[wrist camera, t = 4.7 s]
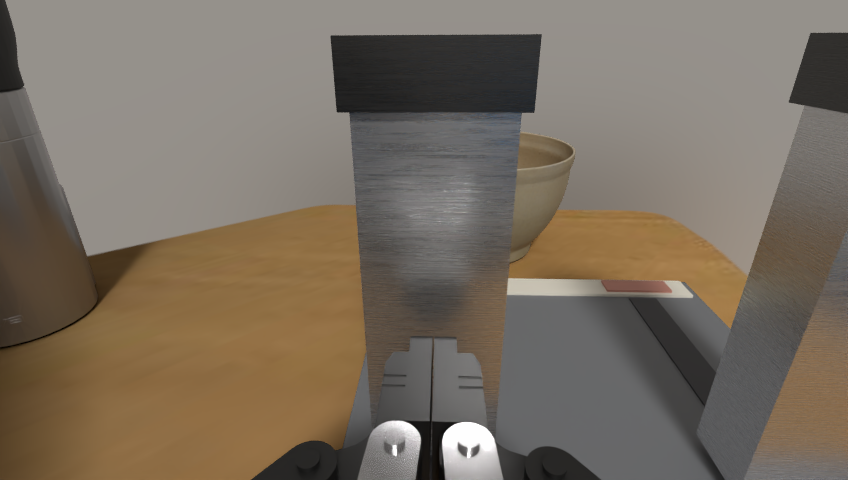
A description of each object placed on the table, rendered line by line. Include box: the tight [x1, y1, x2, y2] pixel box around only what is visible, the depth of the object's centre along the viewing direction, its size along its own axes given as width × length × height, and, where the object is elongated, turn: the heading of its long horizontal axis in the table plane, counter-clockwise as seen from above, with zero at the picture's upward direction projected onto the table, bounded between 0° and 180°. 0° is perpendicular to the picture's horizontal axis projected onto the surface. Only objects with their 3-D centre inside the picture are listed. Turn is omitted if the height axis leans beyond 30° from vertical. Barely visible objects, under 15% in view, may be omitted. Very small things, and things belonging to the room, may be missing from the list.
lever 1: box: [331, 34, 541, 456], centre depth 17 cm, size 4×6×16 cm, turn 88°
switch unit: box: [342, 278, 731, 480], centre depth 25 cm, size 20×22×4 cm
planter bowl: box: [510, 132, 575, 262], centre depth 46 cm, size 16×16×11 cm
